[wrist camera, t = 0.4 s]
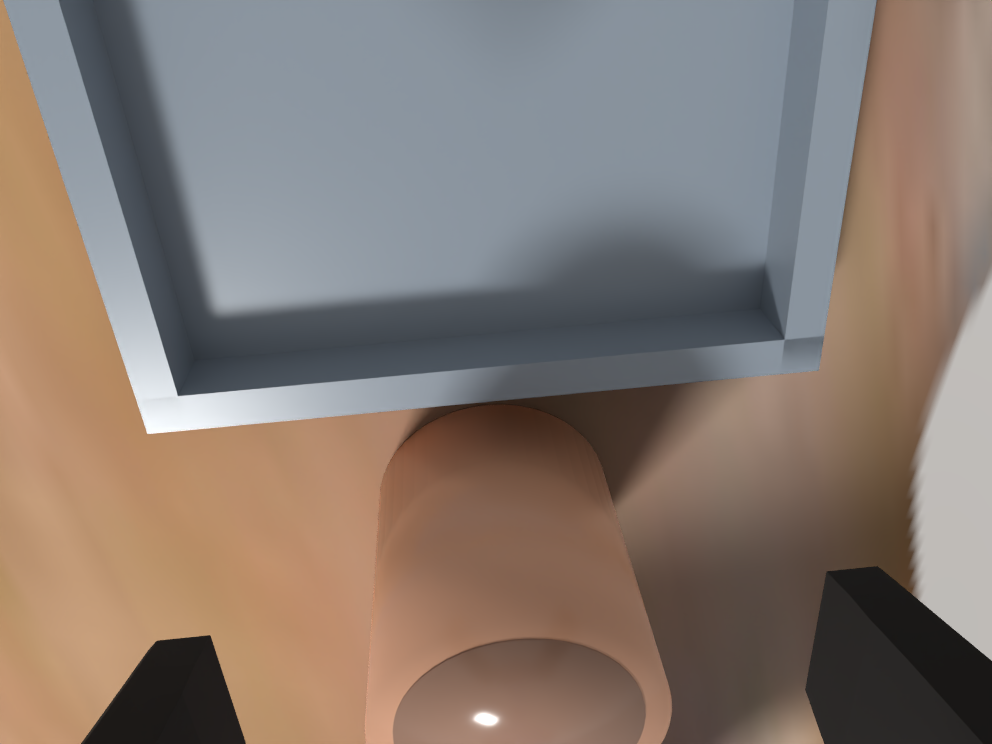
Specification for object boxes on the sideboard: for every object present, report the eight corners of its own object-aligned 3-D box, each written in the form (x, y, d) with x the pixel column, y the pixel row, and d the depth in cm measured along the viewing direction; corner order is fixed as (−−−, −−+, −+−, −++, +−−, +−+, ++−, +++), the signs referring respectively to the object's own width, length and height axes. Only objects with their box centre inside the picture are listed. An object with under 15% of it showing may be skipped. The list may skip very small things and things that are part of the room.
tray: (782, 325, 19) (818, 370, 17) (173, 382, 18) (147, 433, 17) (856, -259, 14) (919, -278, 12) (-4, -201, 13) (-67, -212, 11)
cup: (604, 570, 22) (666, 804, 17) (394, 592, 22) (385, 835, 17) (605, 393, 20) (680, 603, 14) (364, 416, 19) (341, 638, 14)
